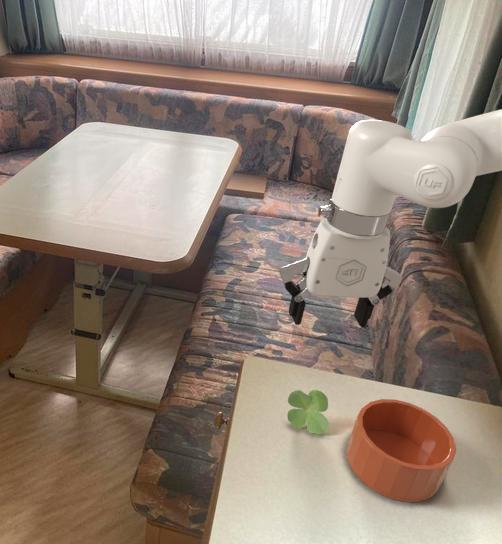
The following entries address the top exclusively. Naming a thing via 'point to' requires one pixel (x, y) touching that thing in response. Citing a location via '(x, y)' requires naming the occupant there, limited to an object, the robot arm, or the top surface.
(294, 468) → the top surface
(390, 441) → the planter
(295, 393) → the green leafy piece
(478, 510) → the top surface
